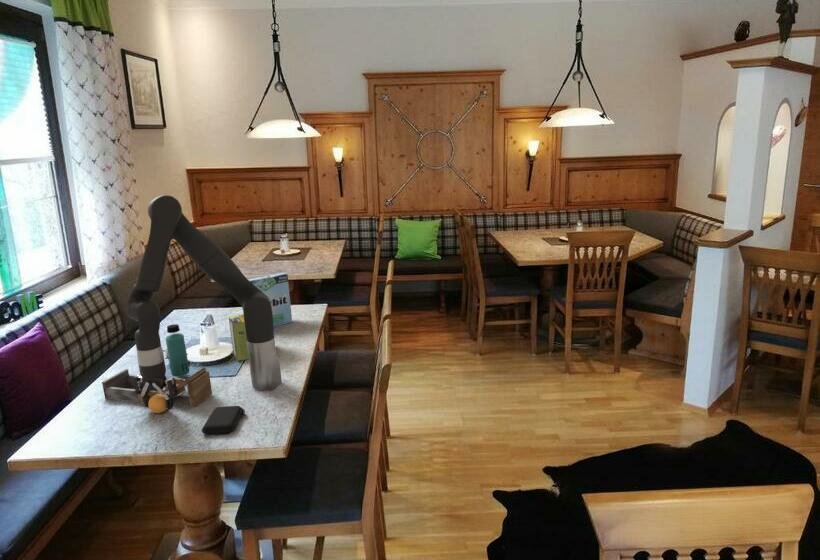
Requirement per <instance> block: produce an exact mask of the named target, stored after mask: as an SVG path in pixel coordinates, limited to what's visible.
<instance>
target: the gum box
mask: <svg viewBox="0 0 820 560" xmlns="http://www.w3.org/2000/svg"><path fill="white" fill-rule="evenodd" d="M248 280H249V281H250V282H251V283H252V284H254V285H255V286H256V287H257V288H258V289H259V290H261V291H262V292H263V293H264V294H266V295H267V297H268V298H269V300H270V303H271V307H272V314H273V325H274V327H277V326H282V325H286V324H290V323H291V324H292V323H293V315H292V307H291V306H292V305H291V298H290V285H289V275H288V273H286V272H280V273H274V274H270V275H264V276H260V277H254V278H250V279H249V278H248Z"/></svg>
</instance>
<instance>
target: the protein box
mask: <svg viewBox="0 0 820 560" xmlns="http://www.w3.org/2000/svg"><path fill="white" fill-rule="evenodd" d="M228 323H229V329H230V338H231V339H230V340H231V346H232V347H231V348H232V353H233V352H234V353H233V355H234V357H235V359H236V361H237V362H240V361H239V360H241V361H245V360H249V355H248V347H247V339H246V330H245V322H244V314H243V313H241V314H236V315H232V316H228ZM275 348H277V347H276V346H275Z"/></svg>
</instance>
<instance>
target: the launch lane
mask: <svg viewBox="0 0 820 560" xmlns="http://www.w3.org/2000/svg"><path fill="white" fill-rule="evenodd" d="M138 375H139V374H137V375H136V374H129V369H128V368H127V369H126V368H125V369H123V370H121V371H120V372H118V373H116V374H114V375H113V376H111V377H109V378H106V379H105V380H103V381H102V382H101V384H102V390H103V394H104V398H105V399H109V400H117V401H126V402H134V403H135V402H136V403H143V398H142V396H141V395H140V394H138V395H137V394H136V392H135V384H134V378H135V377H136V376H138ZM210 376H211V375H210V371H209V370H207V368H206V367H203V368H201V369H199V370H198V371H196V372H195V373H193V374H192V375H190V376H189V377H187V378H186V379H184V377H175V376H166V378H167V379H171V378H175V381H176V386H177V390H178V395H176V396H175V397H173V400H174V399H175V398H177V397H179V396H180V395H181V394H182V393H184V392H185V391H186V386H187V393H188V397H189V403H190V404H189V405H190V407H194V408H196V407H198V406H199V405H201V404H202V403H203V402H204V401H206V400H207V399H208V398H210V397H211V396H213V390H212V389H213V388H212V382H211V377H210ZM143 386H145V384H144V383H143ZM139 389H140V387H139ZM162 390H165V387H164V388H163V389H162ZM173 392H174V391H173ZM166 393H167V392H166ZM148 394H150V398H151V397H152V396H154V395H156V394H160V393H159V392H156V391H150V392H149V393H148ZM167 394H168V393H167ZM168 395H169V394H168Z"/></svg>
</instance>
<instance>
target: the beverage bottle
mask: <svg viewBox="0 0 820 560" xmlns="http://www.w3.org/2000/svg"><path fill="white" fill-rule="evenodd" d="M166 329H167V333H168V335H167V336H166V337H165V342H166V343H165V345H166V349H167V350H168V356H169V359H168V363H169V367H170V368H169V371H170V373H171V377H174V378H180V377H184V376H186V375H188V374H189V373H190V363H189V360H188V355H187V354H188V353H187V345H186V342H185V336H184V334H183V333H181V332H180V331H181V330H180V326H179V324H175V323H173V324H170V325H167V327H166Z"/></svg>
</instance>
